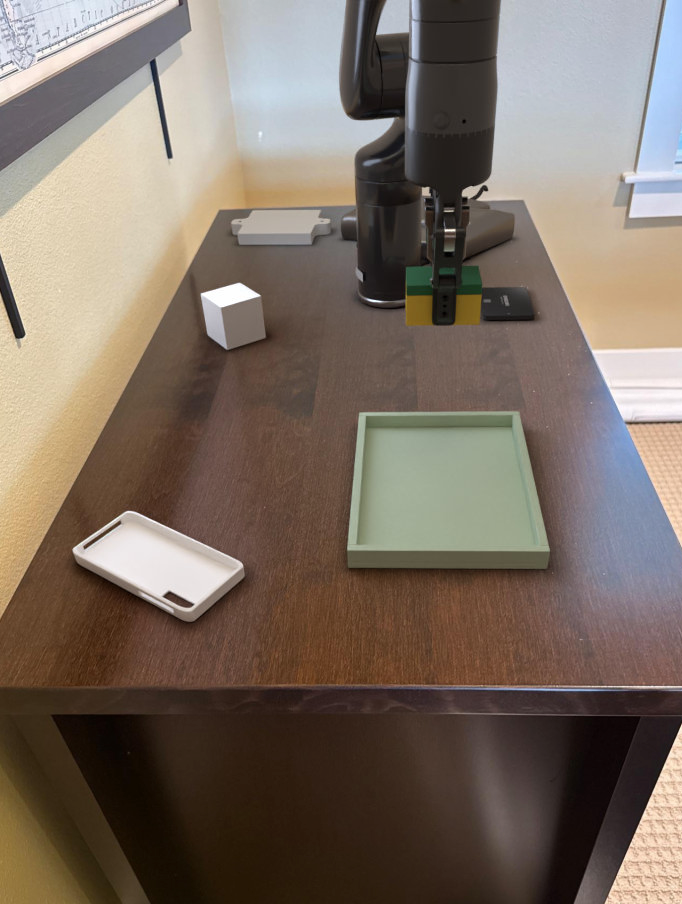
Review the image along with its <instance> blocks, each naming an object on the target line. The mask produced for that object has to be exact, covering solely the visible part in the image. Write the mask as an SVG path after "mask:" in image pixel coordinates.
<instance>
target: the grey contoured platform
mask: <svg viewBox="0 0 682 904" xmlns="http://www.w3.org/2000/svg"><path fill="white" fill-rule="evenodd" d="M424 197H430V195H423V194H422V235H421V260H423V259H428V258H427V243H426V226H425V217H424ZM468 205H470V222H469V225H468V226H467V228H466V256H465V258H464V259H463V260H465V259H467V258H469V257H472V256H475V255H476V254H479V253H481V252H483V251H485V250H488V249H490V248H492V247H495V246H497V245H499V244H502V243H504V242H506V241H509V240H511V239H512V238H513V236H514V232H515V223H516V217H515V214H514V213H513V212H508V211H503V210H499V209H491V205H490V204H489V202H485V201H481V200H478V199H477V200H473V199H470V198H468ZM340 233H341V237H342V239H344V240H346V241H347V240H348V241H357V225H356V208H354V209H353V210H350V211H348V212H347V213H345V214H343V215H342V216H341V219H340Z"/></svg>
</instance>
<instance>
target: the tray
mask: <svg viewBox="0 0 682 904" xmlns="http://www.w3.org/2000/svg"><path fill="white" fill-rule="evenodd" d="M522 423H523V422H522V418H521V415H520V411H519V410H509V411H508V410H506V411H505V410H504V411H503V410H501V411H498V410H497V411H496V410H495V411H494V410H492V411H491V410H490V411H368V412H367V411H366V412H365V411H363V412H361V411H360V412H359V413H358V421H357V433H356V444H355V455H354V458H355V459H354V466H353V478H352V479H353V480H352V489H351V490H352V491H351V501H350V511H349V512H350V514H349V524H348V535H347V546H346V548H347V549H346V555H347V556H346V557H347V568H348V569H463V570H464V569H471V570H476V569H478V570H480V569H483V570H485V569H488V570H493V569H494V570H495V569H496V570H501V569H502V570H503V569H504V570H547V569H548V568H549V567H548V566H549V561H550V555H551V549H550V546H549V540H548V536H547V531H546V527H545V522H544V518H543V514H542V509H541V504H540V499H539V494H538V491H537V486H536V482H535V478H534V477H535V476H534V473H533V468H532V464H531V458H530V455H529V450H528V445H527V442H526V436H525V432H524V428H523V424H522Z"/></svg>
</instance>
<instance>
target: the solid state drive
mask: <svg viewBox="0 0 682 904" xmlns="http://www.w3.org/2000/svg"><path fill="white" fill-rule="evenodd" d="M532 304H533V303H532V300H531V297H530V293H529V291H528V287H526V286H495V287H494V286H493V287H492V286H491V287H490V286H489V287H488V286H487V287H482V297H481V312H482V318H483V320H484V321H511V320H512V321H513V320H515V321H517V320H518V321H519V320H521V321H523V320H525V321H526V320H534V319H535V315H536V313H535V310H534V307H533V305H532Z"/></svg>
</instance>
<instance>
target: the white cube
mask: <svg viewBox="0 0 682 904" xmlns="http://www.w3.org/2000/svg"><path fill="white" fill-rule="evenodd" d="M200 297H201V298H200V300H201V304H202V310H203V316H204V323H205V328H206V334H207V336H208V337H209V338H210V339H212V340H213V341H214V342H216V343H217V344H218V345H220V346H221V347H223V349H225V350H226V351H229V350H232V349H235V348H238V347H241V346H245V345H248V344H251V343H254V342H257V341H260V340H263V339H266V338H267V335H266V326H265V318H264V310H263V309H264V308H263V302H262V295H260V294H259V293H257V292H256V291H254V290H253V289H251V288H249V287H248V286H247V285H244V284H243V283H241V282H236V283H234V284H230V285H226V286H223V287H218V288H216V289H212V290H208V291H204V292H201V293H200Z"/></svg>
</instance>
